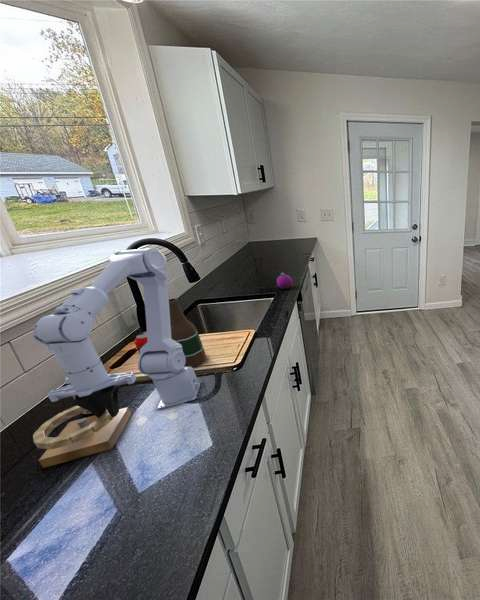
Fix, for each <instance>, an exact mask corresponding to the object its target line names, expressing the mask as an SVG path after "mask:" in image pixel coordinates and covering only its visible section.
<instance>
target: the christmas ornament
mask: <svg viewBox="0 0 480 600" xmlns="http://www.w3.org/2000/svg"><path fill="white" fill-rule="evenodd" d="M276 285H277V287H278V288H279V289H282V290H288V289H290V288H291V287H292V285H293V279H292V277H291V276H290V275H289V274H285V272H283V271H281V273H280V275H279V276H278V277H277V278H276Z"/></svg>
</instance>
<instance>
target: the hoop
mask: <svg viewBox="0 0 480 600" xmlns="http://www.w3.org/2000/svg"><path fill="white" fill-rule="evenodd" d="M86 411H88V410H86V409H84V408H82V407H79V406H76V405H74V406H72V407H70V408H67V409H66V410H63V411H62V412H59V413H58V414H56V415H54V416H53V417H51V418H50V419H48V420H47V421H44V423H42V424H41V425H40V426H39V427H38V429H36V430H35V432H34V433H33V435H32V440H33V443H34V445H35V446H36V447H37V449H42V450H47V449H56V448H59V447H63V446H67V445H70V444H73V442H74V443H76V442H78V441H80V440H82V439H84V438H86V437H88V436H90V435H92V434H94V432H97V431H99V430H100V429H101V428H103V427H104V426H105V425H107V424H108V423H109V422H111V420H112V419H113V418H114V417H112V416H111V415H110V414H109V412H108V410H107V409H106V410H105V411H104V413H103V414H102V416H101V417H99V418H98V419H97V420H95V421H94V422H92V423H91V424H90V425H88V426H86V427H84V428H82V429H80V430H78V431H76V432H73V433H71V434H67V435H63V436H60V437H58V436H56V437H52V436H51V437H50V434H51V433H52V431H53V430H54V429H55V428H57V427H58V426H60V425H61V424H63V423H64V422H66V421H67V420H69V419H72V418H74V417H76V416H78V415H80V414H83V412H86Z"/></svg>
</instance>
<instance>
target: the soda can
mask: <svg viewBox="0 0 480 600" xmlns="http://www.w3.org/2000/svg"><path fill="white" fill-rule="evenodd" d="M147 342H148V340H147V330H146V331H143V332H141V333H139V334H137V335H136V336H135V339H134V345H135V347H136V349H137V351H138V353H139V354H140V349H141V348H142V347H143V346H144V345H145V344H146V343H147ZM156 352H160V351H156Z"/></svg>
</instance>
